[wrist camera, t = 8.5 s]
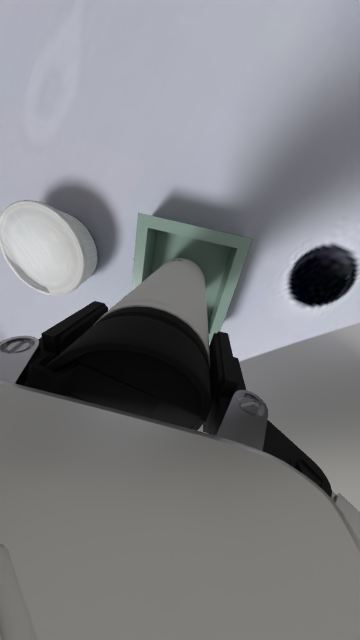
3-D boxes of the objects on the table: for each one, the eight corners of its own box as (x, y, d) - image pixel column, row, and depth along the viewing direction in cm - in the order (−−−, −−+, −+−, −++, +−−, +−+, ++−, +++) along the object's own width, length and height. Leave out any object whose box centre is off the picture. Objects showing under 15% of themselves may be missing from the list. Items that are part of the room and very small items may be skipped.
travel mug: (169, 245, 22) (36, 299, 4) (214, 274, 23) (258, 417, 5) (147, 287, 25) (9, 430, 7) (188, 312, 26) (159, 493, 8)
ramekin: (24, 254, 28) (-13, 259, 24) (47, 185, 24) (7, 173, 19) (86, 299, 30) (64, 311, 26) (118, 243, 26) (98, 245, 21)
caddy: (150, 216, 24) (138, 212, 19) (243, 238, 23) (252, 239, 19) (140, 308, 30) (128, 322, 25) (214, 326, 29) (215, 343, 25)
